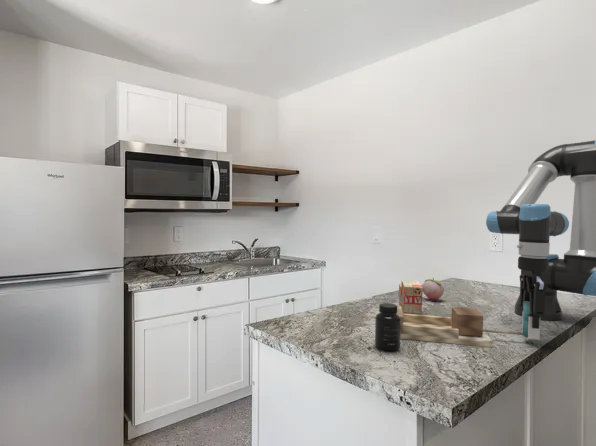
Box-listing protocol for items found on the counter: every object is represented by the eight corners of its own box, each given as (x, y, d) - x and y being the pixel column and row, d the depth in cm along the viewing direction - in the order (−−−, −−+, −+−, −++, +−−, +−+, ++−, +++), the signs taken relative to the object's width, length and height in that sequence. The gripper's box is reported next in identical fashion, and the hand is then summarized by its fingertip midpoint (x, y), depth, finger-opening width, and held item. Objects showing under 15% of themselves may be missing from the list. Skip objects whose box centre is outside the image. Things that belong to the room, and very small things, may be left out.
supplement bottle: (371, 343, 104) (372, 302, 103) (394, 343, 104) (396, 301, 104) (379, 352, 97) (380, 308, 97) (403, 352, 97) (405, 308, 97)
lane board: (479, 331, 116) (480, 311, 116) (492, 347, 103) (493, 324, 102) (395, 324, 122) (396, 305, 122) (397, 338, 109) (397, 316, 108)
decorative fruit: (448, 301, 158) (448, 278, 157) (436, 303, 153) (437, 280, 153) (429, 297, 165) (430, 275, 165) (418, 299, 161) (418, 276, 160)
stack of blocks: (398, 306, 148) (399, 276, 148) (414, 307, 147) (415, 276, 147) (403, 320, 127) (404, 286, 127) (422, 322, 126) (423, 287, 126)
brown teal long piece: (532, 332, 110) (533, 299, 110) (544, 342, 102) (545, 306, 101) (451, 325, 116) (452, 294, 116) (456, 334, 107) (457, 300, 107)
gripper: (509, 253, 115) (506, 326, 116) (530, 259, 99) (527, 344, 99) (535, 254, 113) (533, 328, 114) (561, 260, 97) (558, 347, 97)
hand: (530, 335), depth 107 cm, fingers closed on brown teal long piece, 4 cm apart
